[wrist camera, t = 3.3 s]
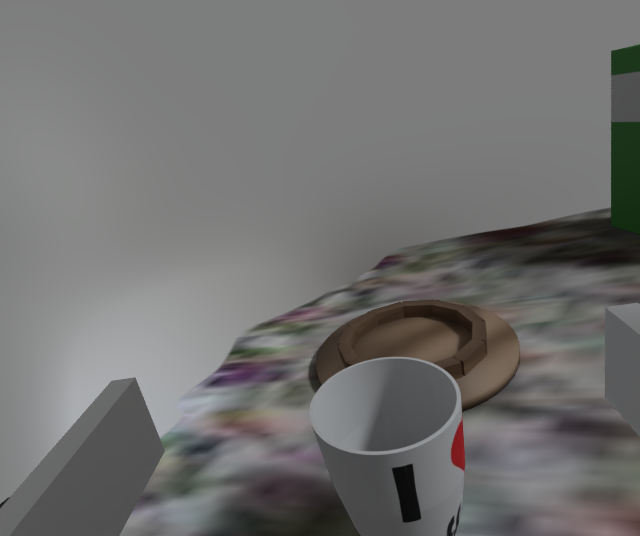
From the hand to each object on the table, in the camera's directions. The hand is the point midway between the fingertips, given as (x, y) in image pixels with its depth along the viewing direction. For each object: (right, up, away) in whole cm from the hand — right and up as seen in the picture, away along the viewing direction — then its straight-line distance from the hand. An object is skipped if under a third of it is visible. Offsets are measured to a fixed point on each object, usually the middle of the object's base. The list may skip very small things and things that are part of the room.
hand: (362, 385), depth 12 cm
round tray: (+8, -6, +33) cm, 34 cm away
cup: (+4, -13, +15) cm, 20 cm away
